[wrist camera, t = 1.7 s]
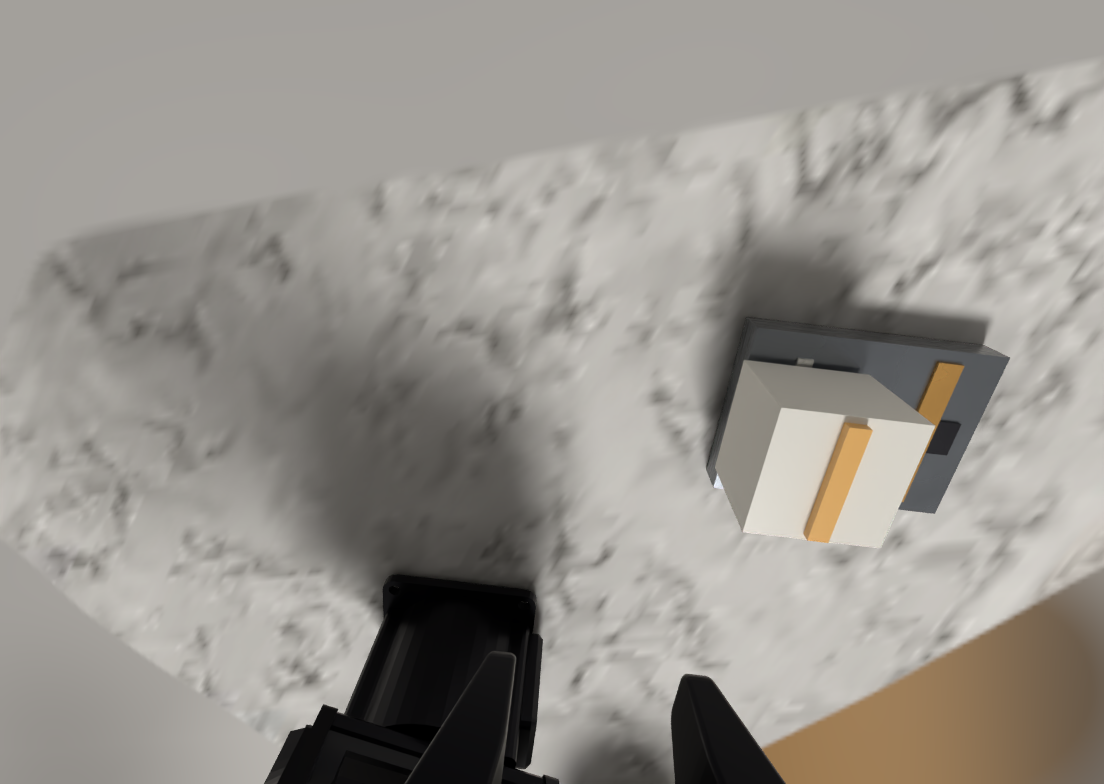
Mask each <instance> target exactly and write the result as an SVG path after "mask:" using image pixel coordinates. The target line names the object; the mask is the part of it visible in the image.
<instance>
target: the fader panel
mask: <svg viewBox="0 0 1104 784" xmlns="http://www.w3.org/2000/svg"><path fill="white" fill-rule="evenodd" d="M1009 359H1010V357H1008V356H1006V355H1003V354H1001V353H999V352H997V351H995V350H993V349H991V348H989V347H987V346H985V345H978V344H970V343H961V342H953V341H945V340H936V339H928V338H919V337H911V336H902V335H894V334H886V333H877V332H869V331H860V330H852V329H843V328H835V327H827V326H818V325H810V324H801V323H793V322H784V321H776V320H768V319H759V318H751V317H746V321H745V325H744V328H743V332H742V336H741V340H740V344H739V347H738V351H737V355H736V359H735V363H734V366H733V370H732V374H731V378H730V382H729V385H728V389H727V393H726V397H725V401H724V404H723V408H722V412H721V416H720V420H719V423H718V427H717V431H716V435H715V439H714V442H713V446H712V450H711V454H710V458H709V461H708V465H707V469H706V470H707V473H708V475H709V478H710V480H711V483H712V485H713V488H721V489H724V488H723V485H722V483H721V481H720V478H719V476H718V474H717V471H716V469H715V465H716V461H717V458H718V454H719V450H720V447H721V443H722V439H723V435H724V432H725V428H726V424H727V421H728V417H729V413H730V410H731V406H732V402H733V398H734V395H735V391H736V387H737V384H738V380H739V376H740V373H741V369H742V365H743V361H744V360H750V361H758V362H767V363H775V364H783V365H792V366H800V367H809V368H817V369H826V370H834V371H843V372H851V373H859V374H868V375H871V376H872V377H873V378H874V379H876V380H877V381H878V382H880V383H881V384H882V385H883V386H885V387H886V388H887V389H889V390H890V391H891V392H892V393H894V394H895V395H896V396H898V397H899V398H900V399H902V400H903V401H904V402H905V403H907V404H908V405H909V406H911V407H912V408H913V409H914V410H916V411H917V412H918V413H920V414H921V415H922V416H923V417H925V418H926V419H927V420H929V421H930V422H931V423H933V424H934V425H935V428H934V430H933V433H932V435H931V437H930V439H929V441H928V444H927V446H926V448H925V450H924V453H923V455H922V457H921V459H920V462H919V464H918V466H917V468H916V470H915V473H914V475H913V477H912V479H911V482H910V484H909V486H908V488H907V491H906V493H905V495H904V497H903V500H902V502H901V504H900V506H899V508H898V509H900V510H908V511H916V512H925V513H933V514H935V512H936V510H937V508H938V506H939V504H940V502H941V500H942V498H943V496H944V494H945V491H946V489H947V487H948V485H949V483H950V481H951V479H952V477H953V475H954V473H955V471H956V469H957V467H958V465H959V462H960V460H961V458H962V456H963V454H964V452H965V450H966V448H967V446H968V444H969V442H970V440H971V438H972V436H973V434H974V431H975V429H976V427H977V425H978V423H979V421H980V419H981V417H982V415H983V413H984V411H985V409H986V407H987V405H988V402H989V400H990V398H991V396H992V394H993V392H994V390H995V388H996V386H997V384H998V382H999V380H1000V378H1001V376H1002V374H1003V371H1004V369H1005V367H1006V365H1007V363H1008V361H1009Z"/></svg>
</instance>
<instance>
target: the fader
mask: <svg viewBox="0 0 1104 784" xmlns="http://www.w3.org/2000/svg"><path fill="white" fill-rule="evenodd" d="M934 428H935V425H934V424H933V423H931V422H930V421H929V420H927V419H926V418H925V417H923V416H922V415H921V414H920V413H918V412H917V411H916V410H914V409H913V408H912V407H911V406H909V405H908V404H907V403H905V402H904V401H903V400H902V399H900V398H899V397H898V396H896V395H895V394H894V393H892V392H891V391H890V390H889V389H887V388H886V387H885V386H883V385H882V384H881V383H880V382H878V381H877V380H876V379H874V378H873V377H872V376H871V375H868V374H859V373H851V372H843V371H834V370H826V369H817V368H809V367H800V366H792V365H783V364H775V363H767V362H758V361H750V360H744V361H743V365H742V369H741V373H740V376H739V380H738V384H737V387H736V391H735V395H734V398H733V402H732V406H731V410H730V413H729V417H728V421H727V424H726V428H725V432H724V435H723V439H722V443H721V447H720V450H719V454H718V458H717V461H716V465H715V469H716V471H717V474H718V476H719V478H720V481H721V483H722V485H723V488H724V490H725V492H726V495H727V497H728V499H729V502H730V504H731V507H732V509H733V511H734V514H735V516H736V518H737V521H738V523H739V525H740V528H741V530H742V532H745V533H753V534H762V535H770V536H779V537H787V538H796V539H804V540H808V541H816V542H825V543H829V542H830V543H838V544H847V545H855V546H864V547H872V548H881V546H882V544H883V542H884V540H885V537H886V535H887V533H888V531H889V529H890V526H891V524H892V522H893V520H894V517H895V515H896V513H897V511H898V508H899V506H900V504H901V502H902V500H903V497H904V495H905V493H906V491H907V488H908V486H909V484H910V482H911V479H912V477H913V475H914V473H915V470H916V468H917V466H918V464H919V462H920V459H921V457H922V455H923V453H924V450H925V448H926V446H927V444H928V441H929V439H930V437H931V435H932V433H933V430H934Z"/></svg>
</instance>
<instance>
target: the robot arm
mask: <svg viewBox="0 0 1104 784" xmlns="http://www.w3.org/2000/svg"><path fill="white" fill-rule="evenodd" d="M394 586H397V587H399V588H395V587H394ZM521 601H526V602H528V603H523V602H521ZM535 610H536V596H535V594H534V593H533V592H531V591H529V590H525V589H516V588H508V587H499V586H490V585H482V584H473V583H465V582H456V581H448V580H439V579H431V578H422V577H414V576H405V575H391V576H389V577H388V578H387V579H386V582H385V584H384V586H383V615H384V620H383V622H382V624H381V627H380V629H379V632H378V634H377V636H376V639H375V641H374V644H373V646H372V648H371V651H370V653H369V656H368V658H367V660H366V663H365V665H364V668H363V670H362V672H361V675H360V677H359V680H358V682H357V684H356V687H355V689H354V692H353V694H352V696H351V699H350V701H349V704H348V706H347V708H346V711H345V713H344V714H342V713H339V712H337V711H338V709H337V708H334V707H331V706H327V705H324V704H323V706H322V708H321V710H320V712H319V714H318V716H317V718H316V720H315V722H314V724H313V726H311V725H306V727H305V728H302V729H298V730H294V731H290V733H289V735H288V737H287V739H286V741H285V743H284V745H283V747H282V749H281V751H280V753H279V755H278V757H277V759H276V761H275V763H274V765H273V767H272V769H271V772H270V773H269V775H268V777H267V779H266V781H265V783H264V784H559V779H556V778H553V777H550V776H547V775H543V776H542V777H540V776H537V775H534V774H531V773H527V772H524V771H521V770H518V769H526V768H527V767H528V766H529V765H530V764H531V758H532V752H533V745H534V738H535V731H536V724H537V712H538V698H539V685H540V671H541V658H542V644H543V639H542V638H541V637H540V635H539V634H532V633H533V625H534V617H535ZM671 730H672V744H673V759H674V773H675V784H786V783H785V782H784V781H783V779H782V778H781V776H780V775H779V773H778V772H777V771H776V769H775V768H774V766H773V765H772V763H771V762H770V761H769V759H768V758H767V756H766V755H765V754H764V752H763V751H762V749H761V748H760V746H759V745H758V744H757V742H756V741H755V739H754V738H753V736H752V735H751V734H750V732H749V731H748V729H747V728H746V727H745V725H744V724H743V722H742V721H741V719H740V718H739V717H738V715H737V714H736V712H735V711H734V709H733V708H732V707H731V705H730V704H729V702H728V701H727V700H726V698H725V697H724V695H723V694H722V692H721V691H720V690H719V688H718V687H717V685H716V684H715V683H714V681H713V680H712V679H711V678H709V677H707V676H702V675H693V674H685V675H683V677H682V678H681V681H680V684H679V687H678V691H677V694H676V697H675V701H674V704H673V708H672V713H671ZM516 768H518V769H516Z"/></svg>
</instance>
